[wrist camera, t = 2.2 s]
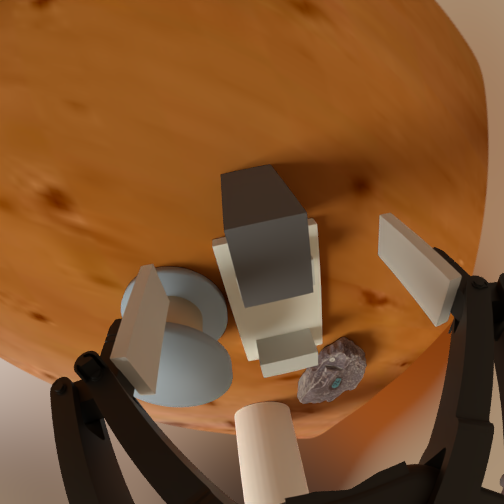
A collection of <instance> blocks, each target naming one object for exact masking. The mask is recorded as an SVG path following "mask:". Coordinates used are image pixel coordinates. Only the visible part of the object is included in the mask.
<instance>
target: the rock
mask: <svg viewBox="0 0 504 504" xmlns="http://www.w3.org/2000/svg"><path fill="white" fill-rule="evenodd" d="M366 366H367V365H366V358H365V353H364V351H363V350H362V349H361V348H360V347H358V346H357V345H355V344H354V343H353V341H350V340H348V339H347V338H345V337H342V338H340V339H339V340H337V341H336V342H335V343H333V344H331V345H330V346H328V347H324V349H323V350H322V351H321V352H320V353H319V355H318V365H316V366H312V367H309V368H307V369H306V371H305V373H303V375H302V376H301V378H300V380H299V382H298V393H297V398H298V399H299V401H300V402H301V403H303V404H306V403H310V402H311V403H321V402H323V401H325V400H327V401H328V402H331V401H332V400H334V399H335V398H336V397H338V396H339V395H340V394H341V393H342V392H344V391H346V390H353V389H355V388H356V386H357V385H358V383H359V382H360V381H361V379H362V378H363V375H364V373H365V368H366Z"/></svg>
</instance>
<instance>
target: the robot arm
mask: <svg viewBox="0 0 504 504" xmlns="http://www.w3.org/2000/svg"><path fill="white" fill-rule="evenodd" d="M378 256H379V257H380V258H381V259H382V260H383V261H384V263H385V264H386V265H387V266H388V267H389V268H390V270H391V271H392V272H393V273H394V274H395V276H396V277H397V278H398V279H399V280H400V282H401V283H402V284H403V285H404V286H405V288H406V289H407V290H408V291H409V293H410V294H411V295H412V296H413V298H414V299H415V300H416V301H417V303H418V304H419V305H420V307H421V308H422V309H423V310H424V312H425V313H426V314H427V316H428V317H429V318H430V320H431V321H432V322H433V324H434V325H435V326H438V325H441V324H443V323H445V322H447V321H448V318H449V315H450V312H451V313H452V315H453V316H454V320H453V322H452V325H451V327H450V330H449V333H451V330H452V334H451V343H450V351H449V358H448V365H447V370H446V376H445V382H444V387H443V392H442V396H441V401H440V405H439V409H438V413H437V417H436V421H435V424H434V428H433V431H432V435H431V438H430V441H429V444H428V446H427V448H426V450H425V452H424V453H423V455H422V457H421V459H420V462H419V464H411V465H406V463H405V461H404V462H402V463H399V464H397V465H395V466H392V467H390V468H388V469H385V470H383V471H380V472H378V473H376V474H375V475H373V476H372V477H370V478H368V479H367V480H365V481H364V482H362V483H361V484H359V485H357V486H355V487H353V488H352V489H349V490H340V491H321V492H312V493H308V494H304V495H299V496H294V497H289V498H285V502H283V503H281V504H504V474H503V475H502V477H501V479H500V485H501V486H502V487H503V491H502V493H501V494H500V493H497V492H494V491H492V490H489V489H486V488H483V487H481V485H482V482H483V479H484V475H485V471H486V467H487V463H488V459H489V455H490V450H491V444H492V440H493V434H494V425H493V424H492V423H490V422H489V414H490V406H491V397H492V387H493V368H494V363H495V369H496V374H497V380H498V385H499V392H500V400H501V408H502V420H503V436H504V273H502V274H501V275H500V277H499V280H498V282H494V283H488V282H487V281H486V280H485V279H484V278H482V277H479V276H470V275H469V274H468V273H467V272H465V271H464V270H463V269H462V268H461V267H460V266H459V265H458V264H457V263H456V262H454V260H453V259H452V258H450V257H449V256H448V255H447V254H446V253H445V252H444V251H442V250H440V249H438V248H436V247H434V248H432V247H430V246H429V245H428V244H427V243H426V242H425V241H424V240H423V239H421V238H420V237H419V236H418V235H417V234H416V233H414V232H413V231H412V230H411V229H410V228H408V227H407V226H406V225H405V224H404V223H402V222H401V221H400V220H399V219H397V218H396V217H395V216H394V215H392V214H391V213H387V214H382V215H380V217H379V244H378ZM168 307H169V299H168V297H167V295H166V292H165V290H164V288H163V286H162V283H161V281H160V279H159V276H158V274H157V272H156V269H155V267H154V265H153V264H150V265H145V266H141V268H140V270H139V273H138V276H137V278H136V281H135V284H134V286H133V289H132V292H131V295H130V297H129V300H128V303H127V306H126V309H125V312H124V315H123V318H122V319H116V320H115V321H114V322H113V324H112V325H111V326H110V328H109V331H108V334H107V337H106V340H105V343H104V346H103V349H102V352H101V355H100V356H99V355H98V354H97V353H96V352H95V351H88V352H85V353H83V354H82V355H81V356H79V357H78V359H77V360H76V362H75V365H74V371H75V372H76V373H77V374H78V376H79V377H80V378H81V379H82V380H79V381H76V382H74V383H73V382H72V381H71V380H70V379H69V378H67V377H61V378H59V379H57V380H56V381H55V382H54V383H53V385H52V387H51V391H50V397H51V409H52V420H53V428H54V436H55V442H56V449H57V454H58V460H59V465H60V469H61V474H62V478H63V482H64V486H65V490H66V494H67V497H68V500H69V504H135V503H134V501H133V499H132V497H131V495H130V492H129V490H128V487H127V485H126V483H125V480H124V478H123V475H122V473H121V470H120V467H119V465H118V462H117V459H116V456H115V453H114V450H113V447H112V444H111V441H110V438H109V434H108V431H107V428H106V424H105V421H104V418H105V420H106V421H107V423H108V425H109V426H110V428H111V429H112V431H113V433H114V434H115V436H116V438H117V439H118V441H119V442H120V444H121V445H122V447H123V448H124V449H125V451H126V452H127V454H128V455H129V457H130V458H131V460H132V461H133V462H134V464H135V465H136V466H137V468H138V469H139V470H140V472H141V473H142V474H143V476H144V477H145V478H146V479H147V481H148V482H149V483H150V484H151V486H152V487H153V488H154V489H155V490H156V492H157V493H158V494H159V495H160V496H161V497H162V499H163V500H164V501H165V502H166V503H167V504H238V503H236V502H235V501H234V500H232V499H231V498H230V497H228V496H227V495H226V494H225V493H224V492H223V491H222V490H220V489H219V488H218V487H217V486H216V485H215V484H214V483H212V482H211V481H210V480H209V479H208V478H207V477H206V476H205V475H204V474H203V473H202V472H200V470H199V469H198V468H197V467H196V466H195V465H194V464H192V463H191V462H190V460H188V458H187V457H186V456H184V454H183V453H182V452H181V451H180V450H179V449H178V448H177V447H176V446H175V445H174V444H173V443H172V442H171V440H170V439H169V438H168V437H167V436H166V435H165V434H164V433H163V431H162V430H161V429H160V428H159V427H158V426H157V424H156V423H155V422H154V421H153V420H152V418H151V417H150V416H149V415H148V413H147V412H146V411H145V410H144V408H143V407H142V406H141V405H140V403H139V402H138V401H137V399H136V398H135V397H134V390H136V391H137V392H138V393H139V394H140V395H155V394H156V385H157V378H158V370H159V363H160V356H161V349H162V342H163V336H164V330H165V324H166V318H167V312H168Z"/></svg>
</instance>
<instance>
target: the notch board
mask: <svg viewBox="0 0 504 504" xmlns="http://www.w3.org/2000/svg"><path fill="white" fill-rule="evenodd" d="M308 229H309V240H310V251H311V264H312V277H313V293H309V294H305V295H301V296H297V297H292V298H288V299H284V300H280V301H275V302H271V303H266V304H262V305H257V306H253V307H248V308H245V307H244V303H243V300H242V296H241V292H240V289H239V285H238V281H237V278H236V274H235V270H234V266H233V263H232V259H231V255H230V251H229V248H228V244H227V240H226V237H223V238H218V239H214V240H213V242H212V247H213V250H214V253H215V257H216V260H217V264H218V267H219V270H220V273H221V277H222V280H223V283H224V287H225V290H226V293H227V296H228V299H229V303H230V306H231V309H232V312H233V315H234V318H235V321H236V324H237V328H238V331H239V334H240V337H241V340H242V343H243V346H244V349H245V352H246V355H247V358H248V361H252V360H257V359H259V360H260V366H261V369H262V373H263V376H264V378H266V377H270V376H275V375H279V374H284V373H288V372H292V371H297V370H301V369H305V368H309V367H312V366H316V365H318V351H317V348H316V345H320V344H322V301H321V277H320V258H319V243H318V229H317V223H316V222H315V220H314V219H313V218H311V219H308Z"/></svg>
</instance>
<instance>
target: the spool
mask: <svg viewBox="0 0 504 504" xmlns="http://www.w3.org/2000/svg"><path fill="white" fill-rule="evenodd" d="M155 269H156V272H157V274H158V276H159V279H160V281H161V283H162V286H163V288H164V290H165V292H166V295H167V297H168V299H169V307H168V312H167V318H166V324H165V330H164V336H163V342H162V349H161V356H160V363H159V370H158V378H157V385H156V394H155V395H140V394H139V393H138V392H137V391H136V390H134V397H135V398H138V399H140V400H143V401H145V402H149V403H152V404H156V405H161V406H168V407H191V406H197V405H202V404H205V403H209V402H211V401H213V400H215V399H217V398H219V397H220V396H222V395H223V394H224V393H225V392H226V391H227V390H228V389H229V387H230V385H231V383H232V379H233V375H232V364H231V359H230V356H229V354H228V352H227V351H226V349H225V348H224V347H223V346H222V345H221V344H220V343H219V342H218V341H217V340H218V339H219V338H220V337H221V336H222V334H223V333H224V331H225V329H226V326H227V321H228V316H227V305H226V301H225V298H224V296H223V294H222V292H221V291H220V290H219V288H218V287H217V286H216V285H215V284H214V283H213V282H212V281H211V280H209V279H208V278H206V277H205V276H203V275H201V274H199V273H197V272H195V271H192V270H189V269H185V268H180V267H170V266H169V267H158V268H155ZM136 278H137V276H136V277H135V278H134V279H133V280H132V281H131V282H130V283H129V285H128V287H127V288H126V291H125V293H124V296H123V299H122V303H121V314H122V318H123V315H124V312H125V309H126V306H127V303H128V300H129V297H130V295H131V292H132V289H133V286H134V284H135V281H136Z"/></svg>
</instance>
